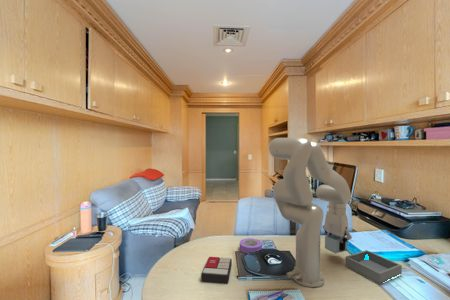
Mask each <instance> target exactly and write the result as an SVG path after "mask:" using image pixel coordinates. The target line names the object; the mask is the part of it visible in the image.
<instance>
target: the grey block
mask: <svg viewBox="0 0 450 300" xmlns="http://www.w3.org/2000/svg"><path fill="white" fill-rule="evenodd" d="M342 238H343V237H342ZM340 242H341V241H340V237H339V236H336V235H334V234H332V235H327V236H326V235H325V236H324V249H326V250H328V251H330V252H332V253H334V254H339V253H342V252H347V251H348V250H347V243H348V241H347V242H345V250H343V251H340V250H339V243H340Z"/></svg>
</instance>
